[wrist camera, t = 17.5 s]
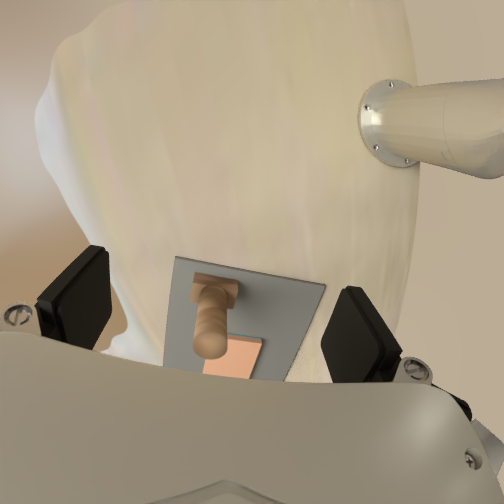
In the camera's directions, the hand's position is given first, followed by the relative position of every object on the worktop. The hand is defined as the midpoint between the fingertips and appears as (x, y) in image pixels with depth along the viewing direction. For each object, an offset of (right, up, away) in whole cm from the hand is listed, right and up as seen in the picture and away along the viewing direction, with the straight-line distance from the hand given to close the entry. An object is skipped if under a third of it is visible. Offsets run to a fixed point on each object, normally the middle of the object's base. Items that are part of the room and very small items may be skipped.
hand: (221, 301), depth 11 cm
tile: (-2, -16, +34) cm, 38 cm away
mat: (-2, -12, +34) cm, 36 cm away
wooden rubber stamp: (-4, -3, +29) cm, 30 cm away
